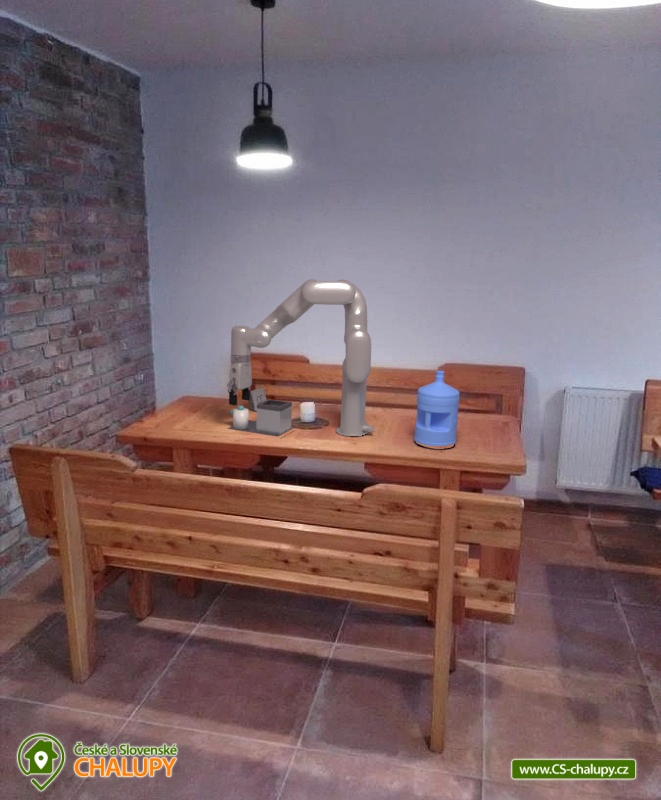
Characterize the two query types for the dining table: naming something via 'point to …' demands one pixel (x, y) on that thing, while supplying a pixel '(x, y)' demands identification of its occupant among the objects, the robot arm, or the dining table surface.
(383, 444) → the dining table surface
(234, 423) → the pump
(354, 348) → the robot arm
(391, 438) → the dining table surface
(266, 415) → the grey box
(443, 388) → the water jug
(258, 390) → the electrical switch
